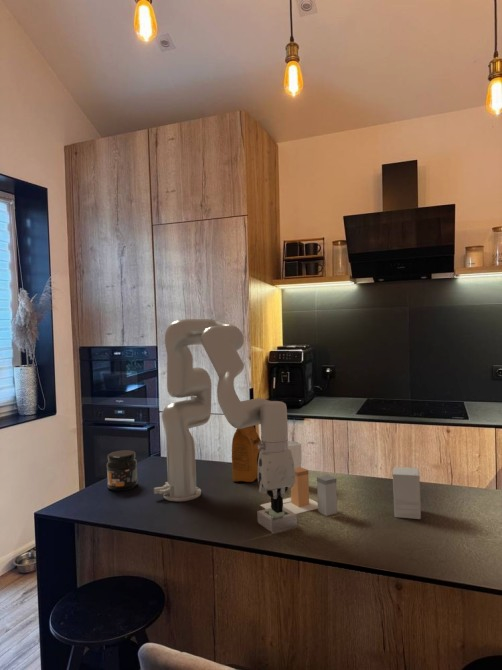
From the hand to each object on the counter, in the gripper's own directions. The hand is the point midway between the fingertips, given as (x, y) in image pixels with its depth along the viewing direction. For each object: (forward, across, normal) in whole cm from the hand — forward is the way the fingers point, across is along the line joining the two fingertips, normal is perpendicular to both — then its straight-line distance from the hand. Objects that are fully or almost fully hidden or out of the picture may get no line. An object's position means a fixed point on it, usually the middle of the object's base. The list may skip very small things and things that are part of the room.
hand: (277, 510), depth 133 cm
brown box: (+4, +14, +9) cm, 17 cm away
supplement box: (+4, +36, -14) cm, 39 cm away
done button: (+4, 0, 0) cm, 4 cm away
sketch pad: (+4, +11, +9) cm, 15 cm away
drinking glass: (+4, +22, +25) cm, 34 cm away
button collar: (+4, 0, 0) cm, 4 cm away
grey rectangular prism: (+4, +17, -1) cm, 17 cm away
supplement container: (+4, -29, +59) cm, 66 cm away
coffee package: (+4, +13, +41) cm, 43 cm away
